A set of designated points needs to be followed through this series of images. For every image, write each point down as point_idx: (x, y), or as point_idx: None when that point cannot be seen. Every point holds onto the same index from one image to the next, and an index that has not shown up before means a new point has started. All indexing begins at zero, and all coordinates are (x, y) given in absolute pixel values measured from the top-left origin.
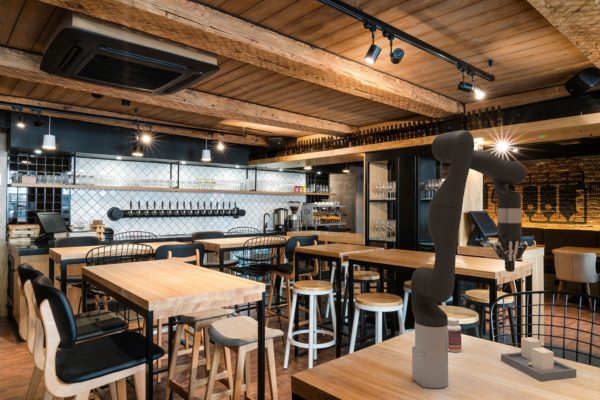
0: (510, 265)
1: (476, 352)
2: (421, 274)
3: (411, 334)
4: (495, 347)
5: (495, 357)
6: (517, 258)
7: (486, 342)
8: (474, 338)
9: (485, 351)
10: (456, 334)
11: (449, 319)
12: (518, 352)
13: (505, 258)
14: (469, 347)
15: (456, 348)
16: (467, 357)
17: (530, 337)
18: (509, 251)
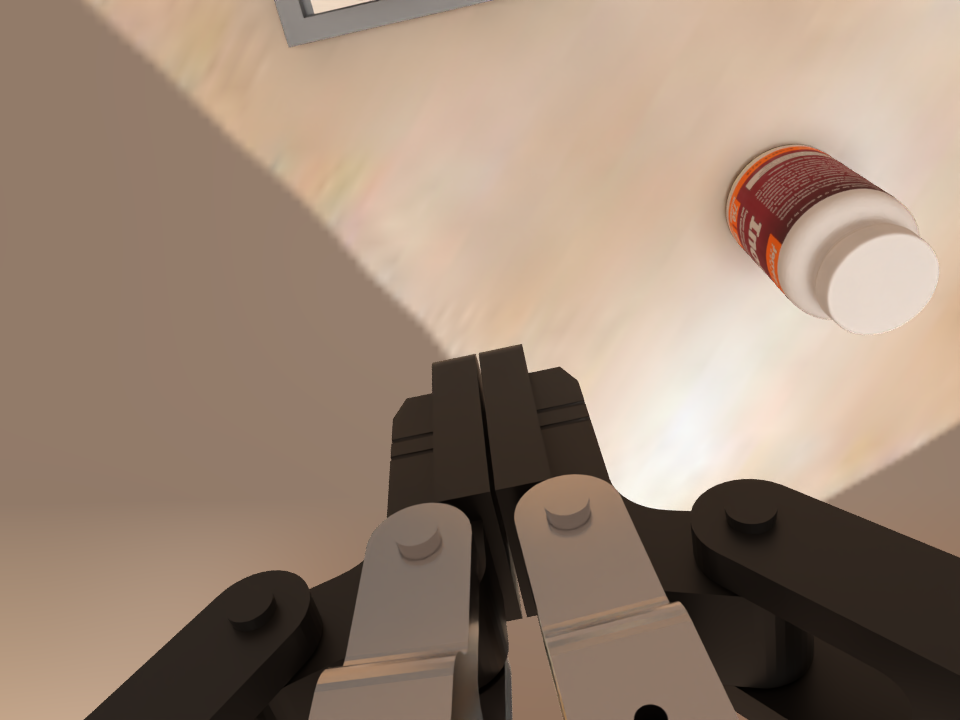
0: (533, 414)
1: (649, 144)
2: None
3: (872, 454)
4: (467, 236)
5: (572, 46)
6: (302, 582)
7: (478, 325)
8: None
9: (577, 162)
10: (842, 179)
11: (916, 268)
12: (423, 14)
13: (751, 499)
14: (643, 237)
15: (798, 150)
16: (767, 50)
17: (325, 5)
18: (709, 681)
